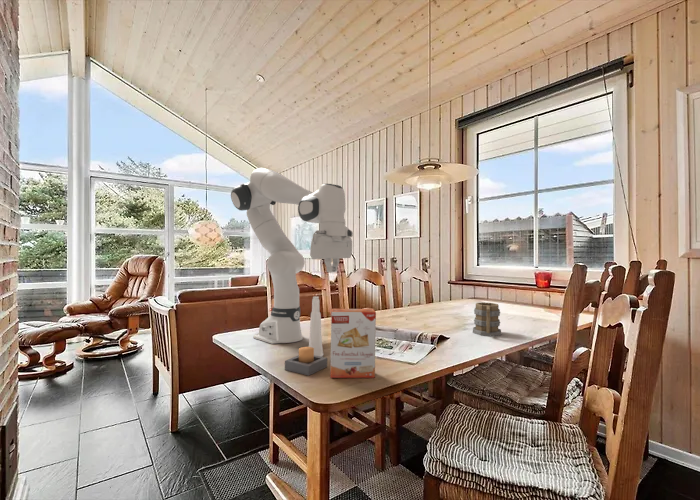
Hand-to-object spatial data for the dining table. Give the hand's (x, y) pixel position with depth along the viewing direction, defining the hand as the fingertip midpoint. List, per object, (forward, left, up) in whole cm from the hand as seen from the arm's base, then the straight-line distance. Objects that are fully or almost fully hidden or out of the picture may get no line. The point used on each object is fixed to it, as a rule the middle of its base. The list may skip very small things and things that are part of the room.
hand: (332, 272), depth 121 cm
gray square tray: (-6, -6, -32) cm, 33 cm away
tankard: (+36, +77, -32) cm, 91 cm away
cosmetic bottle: (-12, +7, -32) cm, 35 cm away
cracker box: (+10, -3, -32) cm, 34 cm away
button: (-6, -6, -30) cm, 31 cm away
